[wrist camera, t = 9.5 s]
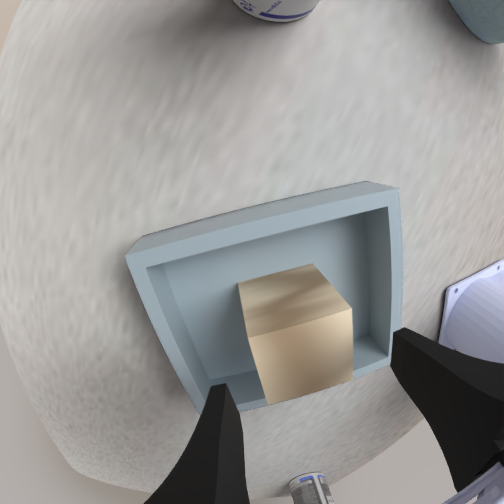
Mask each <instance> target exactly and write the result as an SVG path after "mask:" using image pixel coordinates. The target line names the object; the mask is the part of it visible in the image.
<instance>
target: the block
mask: <svg viewBox="0 0 504 504" xmlns="http://www.w3.org/2000/svg"><path fill="white" fill-rule="evenodd" d="M238 287H239V293H240V298H241V304H242V309H243V315H244V320H245V326H246V331H247V336H248V340H249V344H250V347H251V351H252V354H253V357H254V361H255V364H256V367H257V371H258V374H259V377H260V381H261V384H262V387H263V390H264V394H265V397H266V400H267V403H268V405H271V404H275V403H279V402H283V401H286V400H290V399H294V398H297V397H301V396H304V395H308V394H311V393H314V392H317V391H321V390H324V389H327V388H330V387H333V386H336V385H339V384H341V383H344V382H347V381H350V380H353V324H352V308H351V307H350V306H349V304H348V303H347V302H346V301H345V300H344V299H343V297H342V296H341V295H340V294H339V293H338V292H337V290H336V289H335V288H334V287H333V286H332V285H331V284H330V282H329V281H328V280H327V279H326V278H325V277H324V276H323V274H322V273H321V272H320V271H319V270H318V269H317V268H316V267H315V265H314V264H313V263H311V264H307V265H303V266H300V267H296V268H292V269H288V270H284V271H280V272H277V273H273V274H269V275H265V276H261V277H257V278H253V279H249V280H245V281H241V282H238Z"/></svg>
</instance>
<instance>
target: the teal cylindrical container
mask: <svg viewBox="0 0 504 504" xmlns="http://www.w3.org/2000/svg"><path fill="white" fill-rule="evenodd" d="M448 1H449V2H450V4H451V6H452V7H453V9H454V10H455V12H456V13H457V15H458V16H459V17H460V18H461V20H462V21H463V22H464V23H465V25H466V26H467V27H468V28H469V29H470V31H471V32H472V33H473V34H475V35H476V36H477V37H478V38H479V39H481V40H482V41H484V42H486V43H490V44H497V43H504V0H448Z"/></svg>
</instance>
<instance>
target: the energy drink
mask: <svg viewBox="0 0 504 504" xmlns="http://www.w3.org/2000/svg"><path fill="white" fill-rule="evenodd" d="M233 1H234V2H235V3H236V4H237V5H238V6H239V7H240V8H241V9H242V10H244V11H245V12H247V13H248V14H251V15H253V16H255V17H257V18H261V19H264V20H269V21H276V22H287V21H294V20H298V19H301V18H303V17H305V16H307V15H308V14H309V13H311V12H312V10H313V9H314V8H315V6H316V5H317V4H318V3H319V1H320V0H233Z"/></svg>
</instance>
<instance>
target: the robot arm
mask: <svg viewBox="0 0 504 504" xmlns="http://www.w3.org/2000/svg"><path fill="white" fill-rule="evenodd" d="M455 348H456V349H457V350H458V351H459V352H458V351H455V350H454V349H455ZM390 366H391V368H392V370H393V372H394V374H395V376H396V377H397V379H398V381H399V383H400V384H401V386H402V387H403V388H404V390H405V391H406V392H407V394H408V395H409V396H410V398H411V399H412V401H413V402H414V403H415V405H416V406H417V407H418V409H419V410H420V411H421V413H422V414H423V415H424V417H425V419H426V420H427V422H428V423H429V425H430V427H431V429H432V431H433V433H434V435H435V437H436V439H437V441H438V443H439V445H440V447H441V449H442V451H443V454H444V457H445V459H446V461H447V464H448V467H449V470H450V473H451V476H452V479H453V483H454V487H455V489H456V490H457V492H458V493H457V494H456V495H454V496H453V497H451V498H450V499H448V500H447V501H445V502H444V503H442V504H465V503H467V502H468V501H469V500H471V499H472V498H473V497H475V496H476V495H478V497H477V501H476V502H474V503H473V504H504V260H503V259H501V260H500V261H498V262H496V263H494V264H492V265H491V266H489V267H487V268H485V269H483V270H481V271H479V272H478V273H476V274H474V275H472V276H470V277H468V278H466V279H464V280H462V281H460V282H458V283H456V284H454V285H452V286H450V287H449V288H448V289H447V291H446V297H445V305H444V312H443V319H442V325H441V331H440V336H439V341H438V343H437V342H435V341H432V340H430V339H428V338H426V337H424V336H422V335H420V334H418V333H416V332H414V331H412V330H409V329H407V328H405V327H404V328H402V329H399V330H397V331H395V332H393V341H392V353H391V363H390ZM144 504H250V503H249V497H248V492H247V486H246V478H245V461H244V443H243V431H242V425H241V419H240V414H239V411H238V409H237V406H236V404H235V402H234V400H233V397H232V395H231V393H230V391H229V388H228V386H227V384H226V383H224V384H219V385H213V386H211V387H210V389H209V393H208V396H207V399H206V402H205V405H204V408H203V411H202V413H201V416H200V418H199V421H198V423H197V426H196V428H195V430H194V432H193V435H192V437H191V439H190V441H189V443H188V445H187V447H186V448H185V450H184V452H183V454H182V456H181V457H180V459H179V460H178V462H177V464H176V465H175V467H174V468H173V470H172V471H171V472H170V474H169V475H168V477H167V478H166V479H165V480H164V482H163V483H162V484H161V485H160V486H159V488H158V489H157V490H156V491H155V492H154V493H153V494H152V495H151V497H150V498H149V499H148V500H147V501H146V502H145V503H144Z"/></svg>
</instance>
